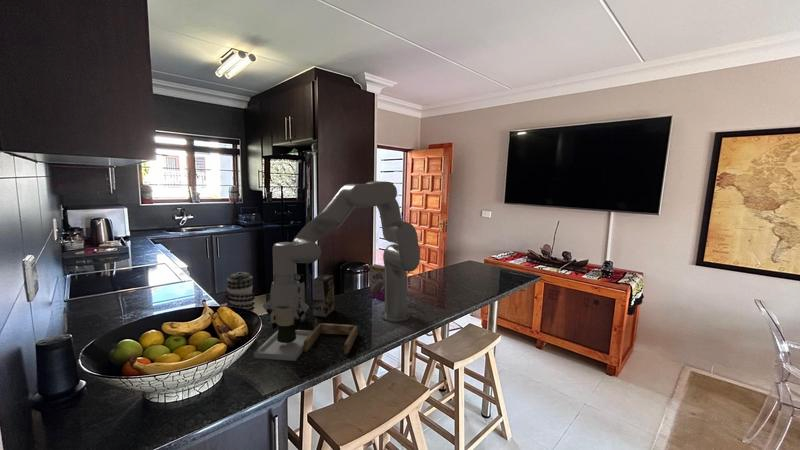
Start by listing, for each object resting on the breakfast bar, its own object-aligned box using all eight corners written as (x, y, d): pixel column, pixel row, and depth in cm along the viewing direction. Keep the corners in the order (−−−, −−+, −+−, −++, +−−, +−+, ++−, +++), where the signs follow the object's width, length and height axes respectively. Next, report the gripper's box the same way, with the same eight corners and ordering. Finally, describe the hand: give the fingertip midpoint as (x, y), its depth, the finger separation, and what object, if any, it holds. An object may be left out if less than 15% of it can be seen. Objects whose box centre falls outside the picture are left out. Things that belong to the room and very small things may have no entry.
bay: (357, 334, 124) (357, 325, 124) (347, 354, 109) (347, 344, 109) (319, 331, 126) (318, 323, 125) (303, 351, 111) (303, 341, 110)
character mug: (296, 332, 120) (295, 298, 119) (306, 339, 116) (305, 303, 114) (267, 342, 113) (265, 306, 111) (276, 349, 108) (275, 312, 106)
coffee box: (326, 317, 140) (326, 280, 138) (312, 315, 141) (311, 279, 139) (334, 309, 148) (334, 274, 147) (321, 308, 150) (321, 273, 148)
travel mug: (290, 325, 131) (289, 276, 129) (288, 319, 137) (287, 272, 135) (306, 322, 134) (305, 275, 132) (303, 316, 140) (302, 271, 137)
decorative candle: (228, 338, 119) (225, 271, 116) (256, 333, 123) (253, 269, 120) (226, 349, 111) (223, 278, 108) (256, 344, 115) (254, 275, 112)
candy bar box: (368, 297, 165) (368, 265, 163) (374, 294, 169) (374, 263, 167) (386, 301, 159) (387, 269, 157) (392, 299, 164) (393, 267, 162)
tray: (315, 335, 123) (315, 330, 122) (295, 360, 105) (295, 355, 105) (279, 333, 124) (279, 328, 124) (253, 357, 106) (253, 352, 106)
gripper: (313, 276, 114) (314, 324, 116) (266, 274, 116) (268, 322, 118) (305, 282, 107) (306, 334, 109) (255, 280, 109) (257, 331, 111)
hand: (286, 327), depth 114 cm, fingers closed on character mug, 7 cm apart
